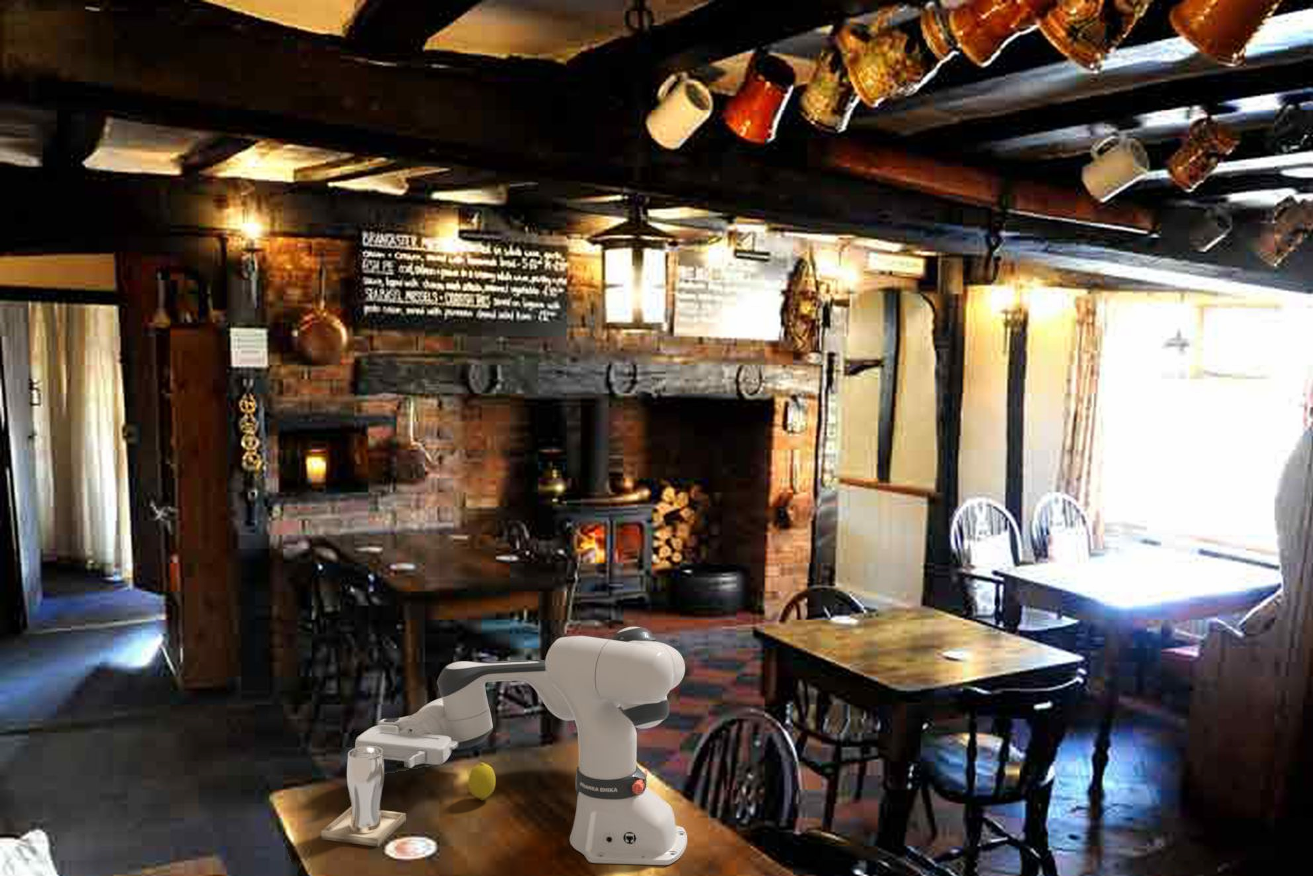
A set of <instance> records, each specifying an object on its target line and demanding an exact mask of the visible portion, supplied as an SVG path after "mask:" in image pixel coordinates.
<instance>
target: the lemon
mask: <svg viewBox="0 0 1313 876" xmlns="http://www.w3.org/2000/svg"><path fill="white" fill-rule="evenodd" d="M468 776H469V777H468V788H469V792H470V793H471V795H472V796H473V797H475V798H477V799H479V800H481V801H484V800H485V799H486V798H488V797H490V796H491V795H492V794H493V792H494V791H495V788H496V784H497V783H496V780H497V779H496V774H495V771H494V769H493V767H492V766H490V765H489V764H488V763H485V762H480V763H479V764H477V765H475V766H474V767H473V768H472V769H471V771H470V774H469V775H468Z"/></svg>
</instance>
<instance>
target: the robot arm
mask: <svg viewBox="0 0 1313 876" xmlns="http://www.w3.org/2000/svg"><path fill="white" fill-rule="evenodd" d="M685 665H686V664H685V660H684V658H683V656H682V654H681V653H680V652H679V650H677V649H676V648H674V647H673V646H671V645H670V644H666V643H664V642H660V641H658V638H657V637H655V636H654V634H653V633H652V631H650V630H649V629H648V628H646V627H639V626H628V627H625V628H623V629H620V630H619V631H617V632H616V633H615V634H613V635H612V636H611V638H610V639H608V638H602V637H601V638H600V637H594V636H586V635H571V636H564V637H559V638H557V639H556V640H555V641H554V642H553V643H552V644H551V646H550V647H549V649H548V650H547V653H546V656H545V659H521V660H520V659H519V660H501V661H500V660H499V661H498V660H497V661H463V660H461V661H455V662H452V663H449V664H447V665H445V666H444V668H443V669H442V671H441V672H440V674H439V676H438V678H437V680H436V684H437V688H438V691H439V694H440V698H437V699H435V700H432V701H430V702H429V703H427V704H425V705H423V706H422V707H421V708H420V709H419V710H418V711H417V712H415V713H413V714H411V715H406V716H403V717H393V718H382V719H380V720H379V721H378V723H377V724H378V725H375V726H372V727H370V728H368V729H367V730H365V731H364V732H363V733H361V734H360V735H358V736H357V737H356V739H355V744H354V745H355V746H354V747H355V748H357V747H361V746H377V747H380V748H382V749H383V759H384V760H391V761H400V762H403V764H404V765H403V766H404V768H409V769H410V768H411V769H412V768H413V767H414V766H417V765H421V764H422V765H423V764H427V765H434V766H435V765H436V766H437V765H442V764H444V763H446V761H448V759H449V757H450V756H451V754H452V750H464V749H465V750H466V749H470V748H472V747H476V746H478V745H479V744H481V743H483V742H484V741H485V740H486V739H487V738H488V737H489V736H490V734H491V733H492V731H493V728H494V726H493V725H494V724H493V721H492V714H491V710H490V706H489V702H488V696H487V692H486V683H492V682H511V681H521V682H524V683H527V684H528V685H530V686H531V688H533V690H535V692H536V693H537V695H538V696H539V697H540V699H541V702H543V704H544V705H545V707H546V708H547V710H548V711H549V712H550V713H551V715H554V716H555V717H557V718H558V719H560V720H562V721H566V722H567V721H574V722H575V725H576V730H577V741H578V742H577V743H578V746H577V747H578V766H577V767H576V775H575V791H576V795H575V796H576V797H577V800H576V801H577V802H576V810H575V816H574V821H573V826H572V829H571V832H570V835H569V843H570V845H571V846H572V847H573V849H575V850H576V851H578V852H579V853H581V854H582V855H584V857H585V858H586V860H587V861H588V862H589V863H593V864H613V865H614V864H617V865H647V866H648V865H650V866H651V865H652V866H669V865H671V864H673V863H675V862H676V861H678V860H679V859H680V858H681V857H682V855H683V854H684V853H685V851H686V849H687V846H688V834H687V832H686V830H685V828H684V827H682V826H679V825H676V819H675V814H674V810H673V808H672V807H671V805H670V803H668V802H667V801H665V800H664V798H662V797H660V796H659V795H658V794H657V793H655V792H654V791H652V789H650V788H649V787H648V786H647V783H648V781H647V777H648V769H647V768H645V770H644V771H642V770H641V769H640V768H639V766H638V765H637V752H638V751H637V749H638V748H637V742H638V741H637V738H638V735H637V729H644V730H645V729H650V728H654V727H656V726H658V725H659V724H661V723H662V721H666V719H667V718H668V717H669V715H670V701H669V699H668V694H669V693H670V691H671V690H673V689H674V688H676V687H677V686H678V685H679V684H680V683H682V680H683V678H684V676H685V673H686V666H685ZM620 708H621V710H620ZM636 728H637V729H636Z"/></svg>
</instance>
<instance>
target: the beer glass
mask: <svg viewBox="0 0 1313 876" xmlns="http://www.w3.org/2000/svg"><path fill="white" fill-rule="evenodd" d="M346 781H347V782H346V783H347V789H348V794H349V799H350V804H351V806H352V817H351V822H350V830H351V831H352V832H354V833H358V834H367V833H372V832H375V831H377V830H379V829H380V828H381V827H382V818H381V813H380V810H381V800H382V794H383V788H384V781H385V759H383V749H382V748H380V747H377V746H361V747H357V748H352V749H350V750H349V751H348V752H347V766H346ZM351 806H350V807H351Z"/></svg>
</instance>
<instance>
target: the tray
mask: <svg viewBox="0 0 1313 876" xmlns="http://www.w3.org/2000/svg"><path fill="white" fill-rule="evenodd" d="M380 813H381V818H382V827H381V828H380V829H379V830H377V831H375V832H372V833H367V834H358V833H354V832H352V831H351V830H350V822H351V817H352V806H350V807H348V809H346V810H345V811H343V813H342V814H340V815H339V816H338V817H336V818H335V819H334V820H333V821H332V822H331V823H329V824H328V825H326V826H325V827H324V828H323V829H322V830H321V831H320V839H321V840H325V841H326V840H327V841H333V842H341V843H348V844H354V845H355V844H357V845H363V846H370V847H377V848H378V847H379V846H380V845H381V844H382V843H384V841H386V840H387V839H388V838H389V837H390V836H391V835H392V834H393V833H395V831H396V830H397V829H399V828H400V826H402V825H403V824H404V823H405V822H406V820H407V816H406V815H407V813H405V812H397V811H389V810H383V809H380Z"/></svg>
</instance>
